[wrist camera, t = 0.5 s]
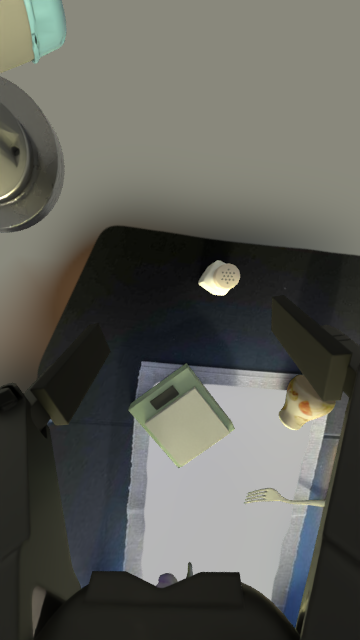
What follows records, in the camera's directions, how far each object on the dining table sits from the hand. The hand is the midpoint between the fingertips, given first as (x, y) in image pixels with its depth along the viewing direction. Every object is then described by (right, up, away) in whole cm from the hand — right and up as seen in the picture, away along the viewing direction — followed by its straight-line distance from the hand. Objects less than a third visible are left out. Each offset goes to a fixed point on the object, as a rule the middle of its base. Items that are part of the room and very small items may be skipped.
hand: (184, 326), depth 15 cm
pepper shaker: (+5, +7, +20) cm, 22 cm away
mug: (+22, -15, +24) cm, 36 cm away
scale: (0, -17, +23) cm, 29 cm away
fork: (+25, -37, +27) cm, 52 cm away
